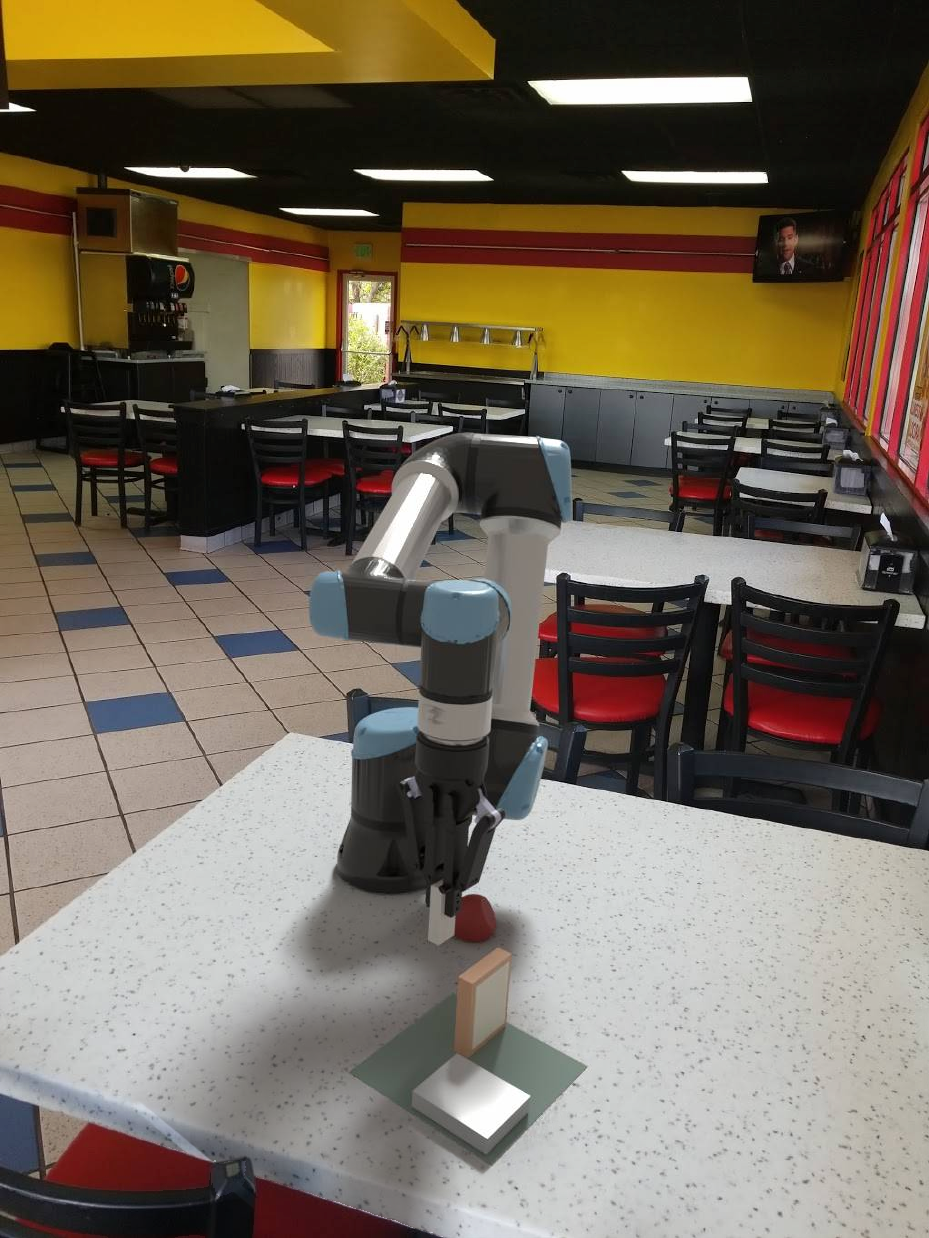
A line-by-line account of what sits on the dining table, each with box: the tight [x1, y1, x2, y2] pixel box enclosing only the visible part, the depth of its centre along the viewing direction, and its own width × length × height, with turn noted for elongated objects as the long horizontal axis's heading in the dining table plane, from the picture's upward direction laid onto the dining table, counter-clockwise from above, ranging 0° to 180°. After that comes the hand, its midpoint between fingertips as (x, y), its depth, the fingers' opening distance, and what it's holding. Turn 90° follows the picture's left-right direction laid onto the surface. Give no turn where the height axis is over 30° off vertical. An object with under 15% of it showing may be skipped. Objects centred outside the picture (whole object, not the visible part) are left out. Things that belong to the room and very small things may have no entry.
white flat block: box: [412, 1053, 530, 1155], centre depth 93 cm, size 2×7×9 cm
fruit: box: [454, 893, 497, 943], centre depth 122 cm, size 6×6×8 cm
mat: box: [348, 993, 589, 1167], centre depth 99 cm, size 18×17×1 cm
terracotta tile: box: [454, 947, 513, 1059], centre depth 102 cm, size 2×7×9 cm, turn 142°
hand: (441, 937), depth 104 cm, fingers closed
